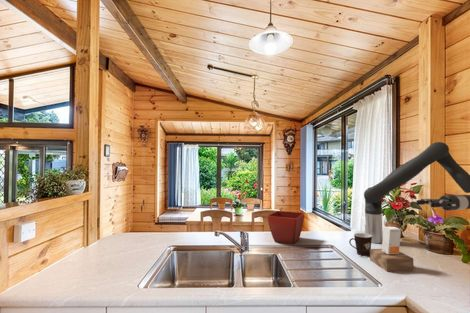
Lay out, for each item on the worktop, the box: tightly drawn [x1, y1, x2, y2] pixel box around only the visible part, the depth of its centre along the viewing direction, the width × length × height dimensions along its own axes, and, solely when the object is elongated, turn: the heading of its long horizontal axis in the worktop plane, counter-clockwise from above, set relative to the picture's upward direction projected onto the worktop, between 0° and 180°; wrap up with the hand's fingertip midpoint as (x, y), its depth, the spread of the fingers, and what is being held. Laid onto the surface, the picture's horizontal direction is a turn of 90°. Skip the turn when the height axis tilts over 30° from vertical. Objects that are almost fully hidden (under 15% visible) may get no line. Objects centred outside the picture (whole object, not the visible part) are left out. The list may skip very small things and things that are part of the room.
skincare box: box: [381, 226, 402, 254], centre depth 123 cm, size 6×4×12 cm
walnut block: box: [369, 248, 415, 273], centre depth 123 cm, size 14×12×6 cm
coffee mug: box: [348, 232, 372, 257], centre depth 140 cm, size 12×9×10 cm
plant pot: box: [266, 210, 305, 245], centre depth 167 cm, size 19×19×17 cm
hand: (423, 203), depth 128 cm, fingers open, 8 cm apart
